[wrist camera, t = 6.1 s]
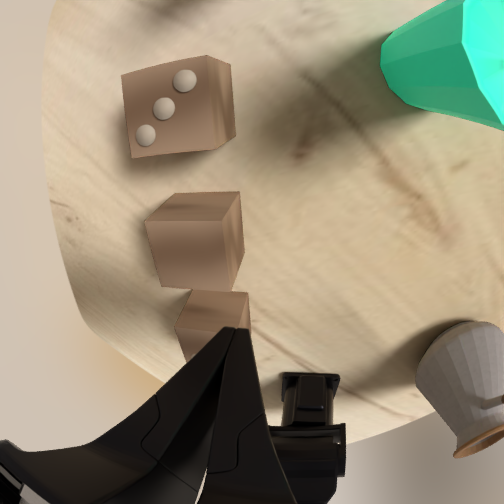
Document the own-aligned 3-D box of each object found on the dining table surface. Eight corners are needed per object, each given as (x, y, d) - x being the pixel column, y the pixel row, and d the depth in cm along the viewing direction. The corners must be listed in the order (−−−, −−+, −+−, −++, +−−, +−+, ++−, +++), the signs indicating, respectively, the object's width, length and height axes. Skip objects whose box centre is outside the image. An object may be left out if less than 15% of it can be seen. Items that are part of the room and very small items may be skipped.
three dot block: (236, 135, 18) (213, 150, 13) (166, 142, 19) (128, 159, 14) (230, 64, 15) (205, 54, 11) (159, 76, 16) (117, 76, 12)
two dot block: (251, 331, 27) (241, 373, 23) (201, 326, 28) (185, 365, 24) (248, 292, 24) (235, 336, 20) (192, 287, 25) (171, 327, 21)
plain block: (244, 252, 22) (230, 292, 18) (185, 249, 23) (161, 286, 19) (239, 191, 20) (221, 220, 16) (175, 193, 21) (144, 221, 16)
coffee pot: (484, 359, 25) (513, 455, 12) (408, 384, 28) (421, 492, 16) (515, 207, 16) (619, 325, 3) (407, 238, 19) (485, 418, 7)
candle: (366, 81, 14) (464, 68, 4) (394, 12, 11) (490, -55, 1) (440, 126, 14) (566, 184, 4) (466, 60, 11) (592, 65, 1)
